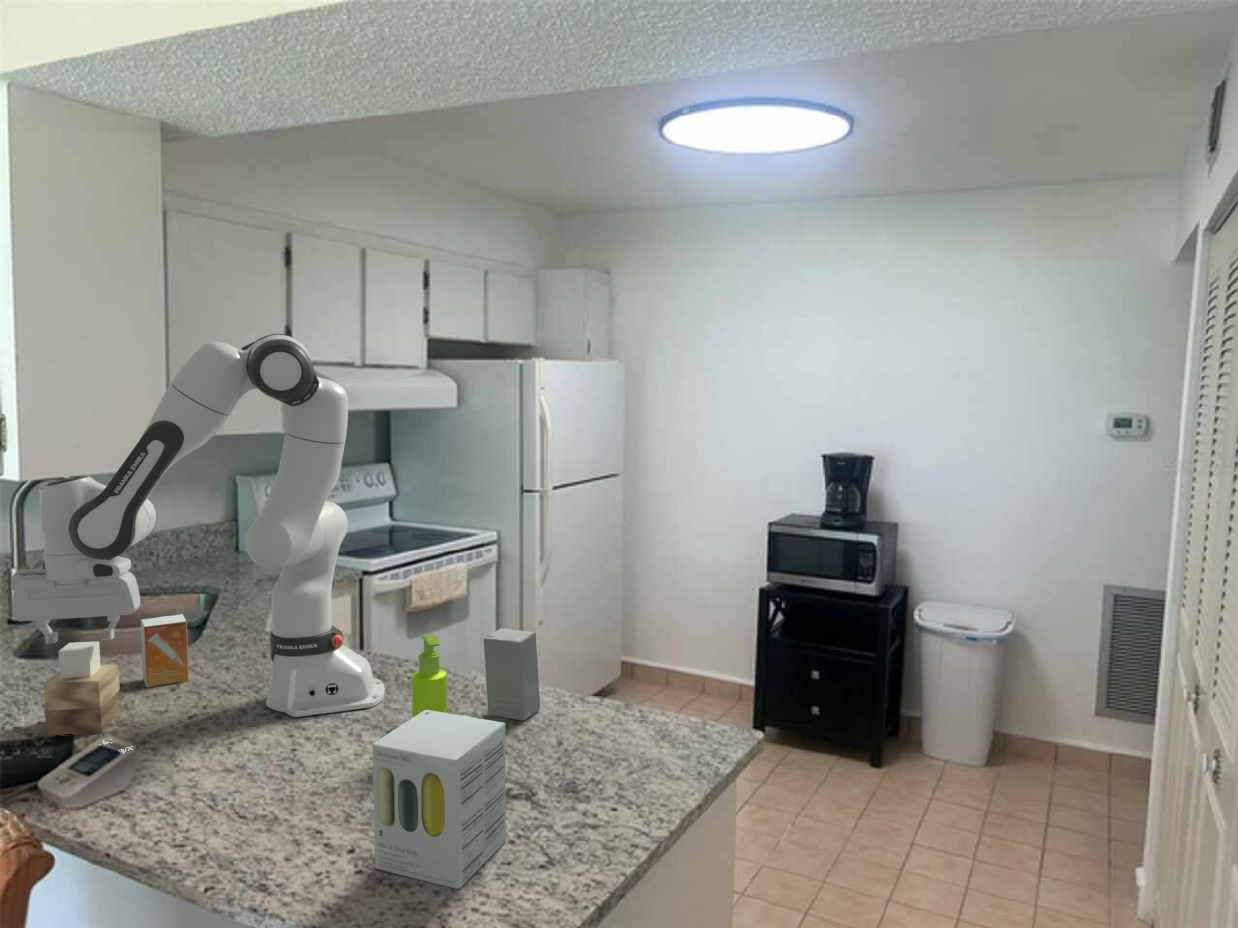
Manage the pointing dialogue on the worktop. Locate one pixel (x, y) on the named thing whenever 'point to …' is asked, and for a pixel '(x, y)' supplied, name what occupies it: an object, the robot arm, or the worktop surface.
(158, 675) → the small box
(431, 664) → the soap dispenser
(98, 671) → the tower top
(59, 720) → the block
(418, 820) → the supplement box
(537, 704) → the skincare box
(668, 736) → the worktop surface
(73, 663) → the cube
